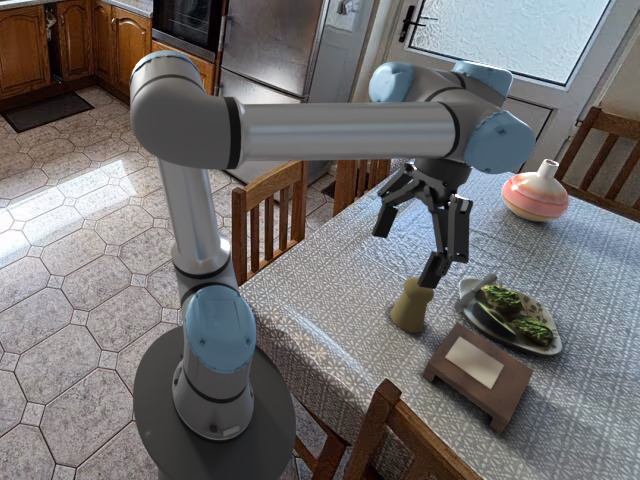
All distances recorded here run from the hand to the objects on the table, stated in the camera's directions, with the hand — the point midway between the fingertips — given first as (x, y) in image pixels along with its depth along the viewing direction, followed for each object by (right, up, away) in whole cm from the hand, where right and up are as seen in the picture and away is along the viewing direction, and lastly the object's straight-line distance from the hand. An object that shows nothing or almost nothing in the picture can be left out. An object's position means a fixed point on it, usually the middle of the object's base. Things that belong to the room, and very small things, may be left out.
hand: (400, 259), depth 75 cm
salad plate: (+32, -19, +14) cm, 40 cm away
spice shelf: (+16, -24, +3) cm, 29 cm away
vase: (+65, -4, +44) cm, 78 cm away
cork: (+11, -19, +15) cm, 26 cm away
